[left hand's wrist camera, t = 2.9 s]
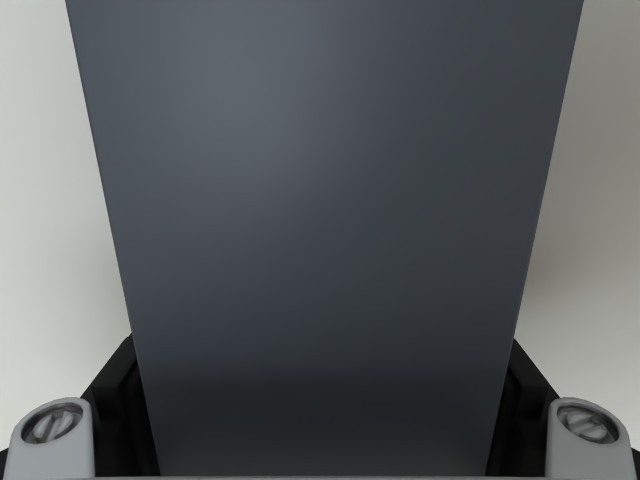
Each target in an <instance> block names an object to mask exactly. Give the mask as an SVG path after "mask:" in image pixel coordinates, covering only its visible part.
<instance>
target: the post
mask: <svg viewBox="0 0 640 480" xmlns="http://www.w3.org/2000/svg"><path fill="white" fill-rule="evenodd" d="M583 1H584V0H65V3H66V8H67V12H68V17H69V22H70V27H71V32H72V37H73V42H74V47H75V52H76V57H77V62H78V67H79V72H80V77H81V82H82V87H83V92H84V97H85V102H86V107H87V112H88V117H89V122H90V127H91V132H92V137H93V142H94V147H95V152H96V157H97V162H98V167H99V172H100V177H101V182H102V187H103V192H104V197H105V201H106V206H107V211H108V216H109V221H110V226H111V231H112V236H113V241H114V246H115V251H116V256H117V261H118V266H119V271H120V276H121V281H122V286H123V291H124V296H125V301H126V306H127V311H128V316H129V321H130V326H131V331H132V336H133V341H134V346H135V351H136V356H137V361H138V366H139V371H140V376H141V381H142V385H143V390H144V395H145V400H146V405H147V410H148V415H149V420H150V425H151V430H152V435H153V440H154V445H155V450H156V455H157V460H158V465H159V470H160V475H161V477H169V476H471V477H485V473H486V468H487V463H488V458H489V453H490V449H491V444H492V439H493V434H494V429H495V424H496V420H497V415H498V410H499V405H500V400H501V396H502V391H503V386H504V381H505V376H506V372H507V367H508V362H509V357H510V352H511V348H512V343H513V338H514V333H515V328H516V324H517V319H518V314H519V309H520V304H521V299H522V295H523V290H524V285H525V280H526V275H527V271H528V266H529V261H530V256H531V251H532V247H533V242H534V237H535V232H536V227H537V223H538V218H539V213H540V208H541V203H542V198H543V194H544V189H545V184H546V179H547V174H548V170H549V165H550V160H551V155H552V150H553V146H554V141H555V136H556V131H557V126H558V122H559V117H560V112H561V107H562V102H563V98H564V93H565V88H566V83H567V78H568V73H569V69H570V64H571V59H572V54H573V49H574V45H575V40H576V35H577V30H578V25H579V21H580V16H581V11H582V6H583Z"/></svg>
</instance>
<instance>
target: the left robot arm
mask: <svg viewBox="0 0 640 480" xmlns="http://www.w3.org/2000/svg"><path fill="white" fill-rule="evenodd" d="M0 480H640V452H639V451H637V450H635V449H633V448H631V445H630V439H629V435H628V433H627V430H626V428H625V426H624V425H623V424H622V423H621V422H620V420H619V419H618V418H617V417H615V416H614V415H613V414H612V413H610V412H609V411H607V410H606V409H604V408H602V407H600V406H599V405H597V404H594V403H592V402H589V401H587V400H583V399H578V398H572V397H563V398H560V397H559V396H558V394H557V393H556V392H555V391H554V389H553V388H552V387H551V385H550V384H549V383H548V381H547V380H546V379H545V377H544V376H543V375H542V374H541V372H540V371H539V370H538V368H537V367H536V366H535V364H534V363H533V362H532V360H531V359H530V358H529V357H528V355H527V354H526V353H525V351H524V350H523V349H522V347H521V346H520V345H519V343H518V342H517V341H516V340H515V339H514V338H513V343H512V348H511V352H510V357H509V362H508V367H507V372H506V376H505V381H504V386H503V391H502V396H501V400H500V405H499V410H498V415H497V420H496V424H495V429H494V434H493V439H492V444H491V449H490V453H489V458H488V463H487V468H486V473H485V477H471V476H169V477H161V475H160V470H159V465H158V460H157V455H156V450H155V445H154V440H153V435H152V430H151V425H150V420H149V415H148V410H147V405H146V400H145V395H144V390H143V385H142V381H141V376H140V371H139V366H138V361H137V356H136V351H135V346H134V341H133V336H132V333H131V334H130V335H129V336H128V337H127V338H126V339H125V340H124V341H123V342H122V343H121V345H120V346H119V347H118V349H117V350H116V351H115V353H114V354H113V355H112V357H111V358H110V359H109V360H108V362H107V363H106V364H105V366H104V367H103V368H102V370H101V371H100V372H99V374H98V375H97V376H96V377H95V379H94V380H93V381H92V383H91V384H90V385H89V387H88V388H87V389H86V391H85V392H84V393H83V394H82V396H81V397H80V398H77V397H68V398H62V399H57V400H53V401H51V402H48V403H46V404H43V405H41V406H40V407H38V408H36V409H34V410H33V411H31V412H30V413H28V414H27V415H26V416H25V417H23V418H22V419H21V420H20V422H19V423H18V424H17V425H16V426H15V428H14V430H13V433H12V435H11V439H10V445H9V448H7V449H5V450H3V451H1V452H0Z"/></svg>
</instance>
